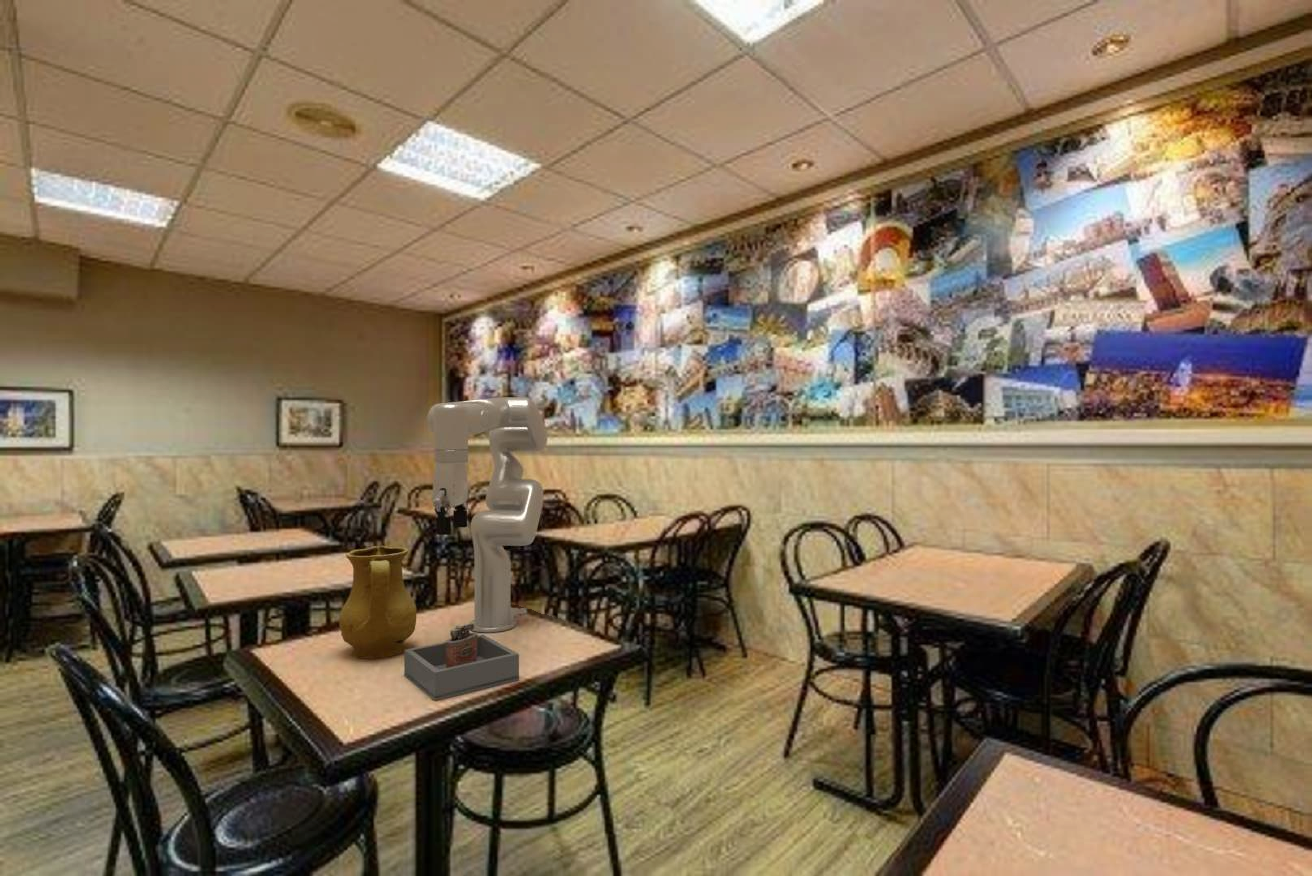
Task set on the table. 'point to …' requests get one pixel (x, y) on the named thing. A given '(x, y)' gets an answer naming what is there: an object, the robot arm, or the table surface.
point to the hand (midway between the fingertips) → (452, 530)
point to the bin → (460, 669)
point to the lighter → (461, 646)
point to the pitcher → (377, 604)
